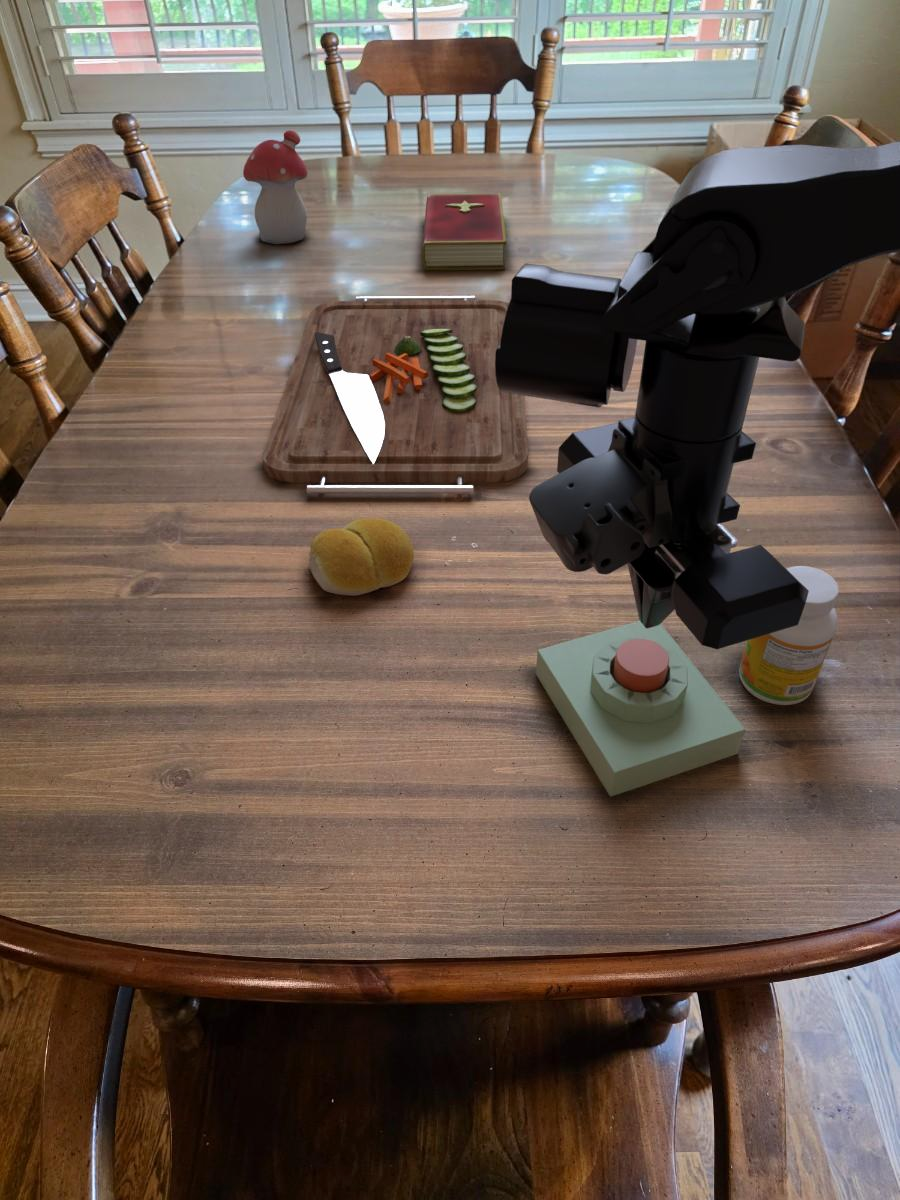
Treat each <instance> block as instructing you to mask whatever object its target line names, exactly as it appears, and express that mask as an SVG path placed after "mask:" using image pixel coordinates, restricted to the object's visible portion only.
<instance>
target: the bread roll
mask: <svg viewBox="0 0 900 1200" xmlns="http://www.w3.org/2000/svg"><path fill="white" fill-rule="evenodd" d="M308 556H309V558H308V563H307V564H308V567H309V569H310V572H311V573H312V576H313V578H314V579H315V581H316V583H317V584H318V585H319V586H320V588H321V589H322V590H323V591H325V592H328V593H331V594H334V595H340V596H341V595H342V596H352V597H353V596H360V595H364V594H369V593H371V592H373V591H377V590H379V589H380V588H389V587H391V586H394V585H396V584H398V583H400V582H401V581H403V580H405V579H406V578H407V576H408V575H409V573H410V571H411V568H412V565H413V562H414V557H415V556H414V547H413V543H412V541H411V538H410V536H408V534H407V532H406V530H404V529H403V528H402V527H400V525H398V524H397V523H395V522H393V521H391V520H388V519H385V518H378V517H377V518H376V517H375V518H358V519H357V520H354V521H352V522H350V523H348V524H346V525H345V526H343V527H342V528H339V527H338V528H328V529H325V530H322V531H320V532H319V533H318V534H317V535H316V536H315V537H314V539H313V540H312V541H311V542H310V551H309V554H308Z"/></svg>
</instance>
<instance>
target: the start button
mask: <svg viewBox="0 0 900 1200" xmlns="http://www.w3.org/2000/svg"><path fill="white" fill-rule="evenodd" d="M668 665H669V656H668V654H667V652H666V651H665V649H664V648H663V647H662V646H660V645H659V644H657V643H655V642H653V641H650V640H646V639H632V640H628V641H626V642H624V643H622V644H621V645H620V646H619V647H618V649H617V652H616V657H615V664H614V670H613V673H614V677H615V679H616V681H617V682H618V683H619V684H620V685H621V686H622V687H624V688H626V689H628V690H630V691H632V692H639V693H650V692H653V691H656V690H658V689H659V688H660V687H661V686H662V685H663V684H664V682H665V679H666V674H667V670H668Z"/></svg>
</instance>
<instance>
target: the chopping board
mask: <svg viewBox="0 0 900 1200" xmlns="http://www.w3.org/2000/svg"><path fill="white" fill-rule="evenodd" d="M509 303H510V302H507V301H503V300H494V299H476V296H475V295H409V296H408V295H407V296H406V295H405V296H403V295H401V296H399V295H397V296H395V295H393V296H388V295H386V296H385V295H383V296H381V295H380V296H378V295H377V296H375V295H374V296H355V300H335V301H328V302H324V303H321V304H318V305H317V306H315V307H314V308H313V309H311V311H310V313H309V315H308V319H307V321H306V325H305V328H304V331H303V334H302V336H301V339H300V342H299V345H298V348H297V351H296V354H295V357H294V360H293V363H292V366H291V369H290V372H289V374H288V378H287V381H286V384H285V386H284V389H283V393H282V395H281V398H280V401H279V404H278V406H277V410H276V413H275V416H274V419H273V422H272V425H271V426H270V427H271V428H270V431H269V434H268V437H267V440H266V443H265V446H264V448H263V451H262V462H263V468H264V472H265V473H266V474H267V476H268V477H269V478H271V479H274V480H276V481H278V482H283V483H284V482H285V483H292V484H294V483H295V484H297V483H300V484H303V483H304V484H305V483H306V484H307V483H308V485H306V493H307V494H308V495H311V494H312V495H314V494H316V495H321V494H322V495H323V494H324V495H325V494H326V495H328V494H329V495H330V494H331V495H332V494H334V495H337V494H339V495H343V494H344V495H345V494H347V495H352V494H353V495H361V494H362V495H369V494H370V495H378V494H379V495H422V494H423V495H425V494H426V495H466V494H467V495H473V494H474V489H475V488H474V485H473V484H495V483H497V484H498V483H505V482H509V481H512V480H515V479H517V478H520V477H521V476H522V475H523V474H524V473H526V471H527V468H528V463H529V446H528V434H527V433H528V432H527V431H528V430H527V421H526V419H527V418H526V405H525V396H524V395H518V394H512V393H505V392H501V391H500V390H499V388H498V386H497V382H496V375H495V354H496V349H497V347H498V346H499V344H500V342H501V335H502V330H503V324H504V320H505V316H506V312H507V309H508V306H509ZM309 483H311V484H312V483H317V484H315V485H314V484H313V485H311V484H309ZM318 483H319V484H318ZM330 483H331V484H330ZM334 483H335V484H334ZM336 483H337V484H336ZM338 483H339V485H338ZM340 483H341V484H340ZM347 483H348V484H347ZM349 483H350V484H349ZM353 483H354V485H353ZM355 483H359V484H358V485H357V484H356V485H355ZM362 483H363V484H365V483H366V484H367V485H366V484H365V485H363V484H362ZM370 483H371V484H370ZM373 483H374V484H375V483H379V485H378V484H377V485H376V484H375V485H373ZM382 483H383V484H385V485H383V484H382ZM387 483H388V485H386V484H387ZM389 483H390V485H389ZM395 483H396V484H398V485H396V484H395ZM399 483H400V484H399ZM407 483H408V484H407ZM326 484H327V485H326ZM328 484H329V485H328ZM343 484H344V485H343ZM346 484H347V485H346ZM361 484H362V485H361ZM369 484H370V485H369ZM381 484H382V485H381ZM391 484H392V485H391ZM393 484H394V485H393ZM402 484H405V485H402ZM409 484H410V485H409ZM411 484H415V485H411ZM419 484H424V485H419ZM425 484H429V485H425ZM430 484H431V485H430ZM432 484H433V485H432ZM435 484H436V485H435ZM437 484H438V485H437ZM441 484H447V485H441ZM449 484H451V485H449ZM455 484H456V485H455ZM463 484H468V485H463ZM469 484H470V485H469ZM471 484H472V485H471Z"/></svg>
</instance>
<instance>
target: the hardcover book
mask: <svg viewBox="0 0 900 1200" xmlns="http://www.w3.org/2000/svg"><path fill="white" fill-rule="evenodd" d="M502 199H503V198H502V193H499V192H497V193H437V194H435V193H434V194H431V193H429V194H427V196H426V203H425V213H424V214H425V215H424V223H423V224H424V225H423V238H422V248H421V249H422V250H421V261H422V267H423V269H424V271H473V270H475V271H477V270H478V271H479V270H481V271H482V270H485V271H486V270H506V257H505V256H506V255H505V248H504V247H505V246H504V245H507V237H506V236H507V235H506V228H505V216H504V208H503V200H502Z"/></svg>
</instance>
